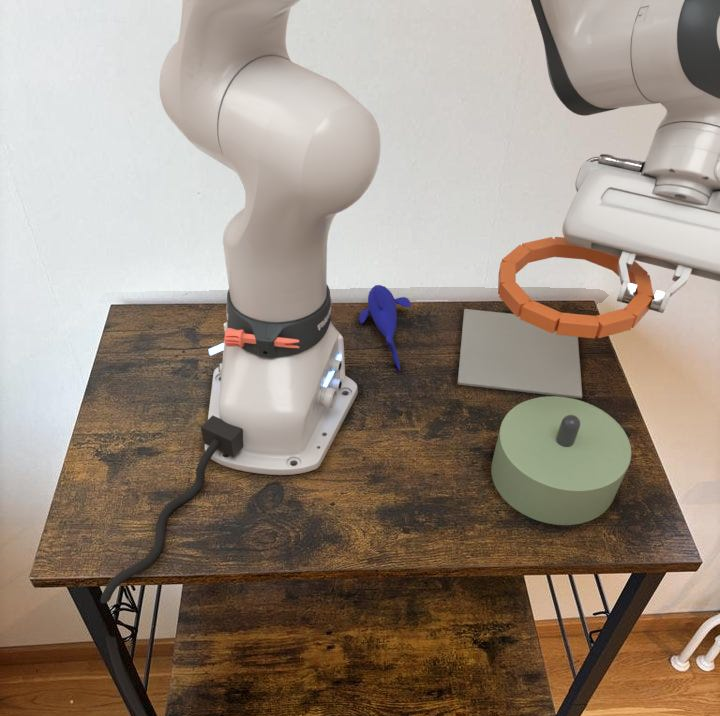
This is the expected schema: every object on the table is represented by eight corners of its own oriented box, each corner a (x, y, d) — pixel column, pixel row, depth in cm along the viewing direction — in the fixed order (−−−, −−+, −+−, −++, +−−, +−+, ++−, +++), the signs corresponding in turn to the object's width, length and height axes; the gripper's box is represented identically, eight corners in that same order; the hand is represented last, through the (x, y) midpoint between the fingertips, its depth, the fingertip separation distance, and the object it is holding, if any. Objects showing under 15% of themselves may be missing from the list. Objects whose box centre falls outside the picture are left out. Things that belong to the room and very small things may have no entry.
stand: (620, 533, 80) (649, 476, 73) (489, 516, 81) (504, 458, 74) (610, 439, 90) (634, 380, 82) (492, 425, 91) (506, 366, 83)
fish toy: (359, 314, 107) (344, 277, 102) (409, 297, 106) (396, 258, 101) (373, 382, 97) (357, 345, 92) (428, 364, 96) (414, 325, 91)
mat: (581, 398, 94) (582, 396, 94) (457, 384, 95) (457, 382, 95) (576, 322, 104) (576, 320, 104) (464, 310, 106) (464, 308, 105)
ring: (655, 344, 72) (661, 331, 71) (496, 329, 73) (499, 316, 72) (639, 256, 82) (643, 244, 81) (499, 244, 83) (501, 231, 82)
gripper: (587, 137, 73) (540, 272, 75) (805, 183, 68) (749, 327, 69) (586, 162, 79) (542, 286, 81) (786, 206, 74) (735, 338, 75)
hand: (640, 306), depth 75 cm, fingers closed on ring, 2 cm apart
